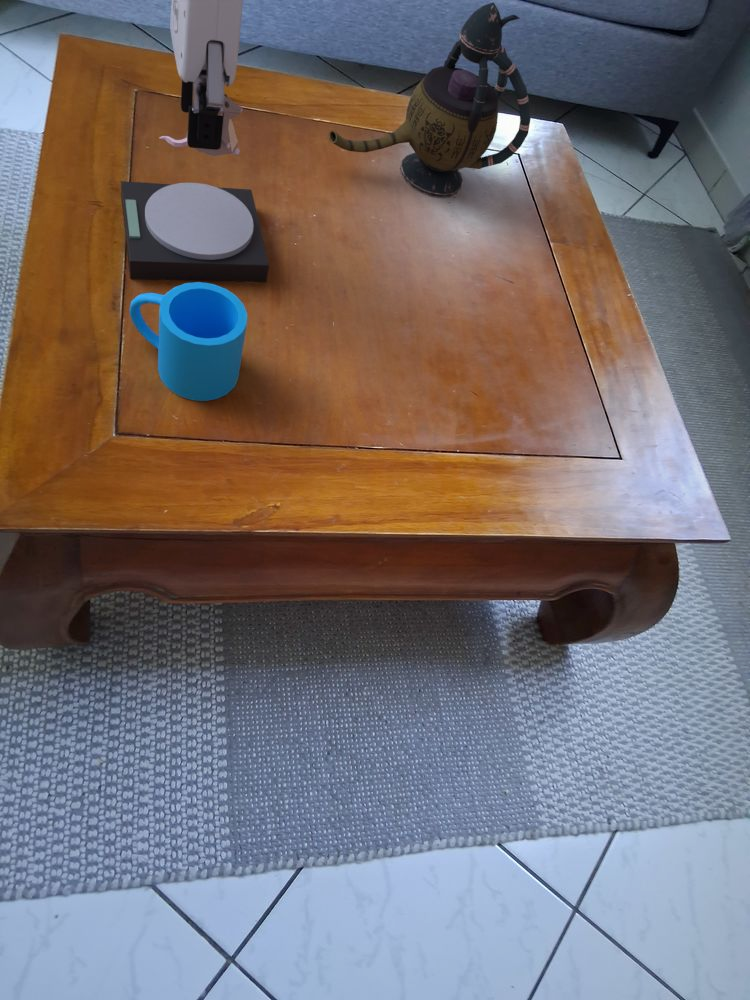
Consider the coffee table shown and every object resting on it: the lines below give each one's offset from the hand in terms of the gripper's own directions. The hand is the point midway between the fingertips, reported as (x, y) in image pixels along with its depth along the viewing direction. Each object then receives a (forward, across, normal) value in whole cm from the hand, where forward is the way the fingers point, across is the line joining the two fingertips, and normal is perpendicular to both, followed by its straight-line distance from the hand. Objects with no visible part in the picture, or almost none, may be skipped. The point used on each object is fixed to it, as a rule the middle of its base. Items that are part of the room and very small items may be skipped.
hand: (200, 127), depth 76 cm
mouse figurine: (+2, 0, 0) cm, 2 cm away
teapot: (+15, -15, +31) cm, 38 cm away
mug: (+15, +18, -3) cm, 23 cm away
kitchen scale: (+14, 0, 0) cm, 15 cm away
